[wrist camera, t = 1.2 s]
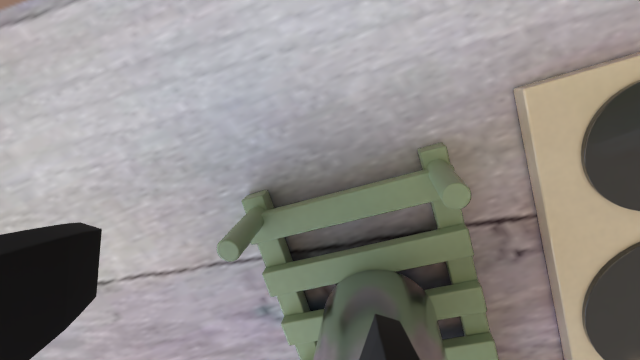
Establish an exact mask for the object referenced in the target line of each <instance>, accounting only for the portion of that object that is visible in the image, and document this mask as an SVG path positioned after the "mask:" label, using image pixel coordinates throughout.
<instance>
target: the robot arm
mask: <svg viewBox="0 0 640 360" xmlns="http://www.w3.org/2000/svg"><path fill="white" fill-rule="evenodd" d="M101 231H102V229H99V228H96V227H93V226H90V225H86V224H83V223H69V224H61V225H54V226H48V227H42V228H36V229H30V230H25V231H19V232H14V233H8V234H2V235H0V360H29V359H31V358H32V357H33V356H34V355H36V354H37V353H38V352H39V351H40V350H41V349H43V348H44V347H45V346H46V345H47V344H49V343H50V342H51V341H52V340H53V339H55V338H56V337H57V336H58V335H59V334H60V333H62V332H63V331H64V330H65V329H66V328H67V327H68V326H69V325H70V324H71V323H72V322H73V321H74V320H75V319H76V318H77V317H78V316H79V315H80V314H81V313H82V311H83V310H84V309H85V308H86V307H87V306H88V305H89V304H90V303H91V302H92V301H93V299H94V298H95V297H96V292H97V280H98V268H99V255H100V243H101ZM359 360H420V358H419V357H418V355H417V353H416V351H415V349H414V347H413V345H412V343H411V341H410V339H409V337H408V336H407V334H406V332H405V330H404V328H403V326H402V324H401V322H400V321H398V320H395V319H392V318H388V317H385V316H382V315H379V314H375V315H374V318H373V321H372V324H371V327H370V330H369V333H368V335H367V338H366V341H365V344H364V347H363V350H362V353H361V356H360V358H359Z"/></svg>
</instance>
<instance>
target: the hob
mask: <svg viewBox="0 0 640 360" xmlns="http://www.w3.org/2000/svg"><path fill="white" fill-rule="evenodd" d="M514 96H515V101H516V106H517V112H518V117H519V122H520V127H521V133H522V138H523V143H524V149H525V154H526V159H527V164H528V170H529V175H530V180H531V185H532V191H533V196H534V201H535V207H536V212H537V217H538V222H539V228H540V233H541V238H542V244H543V249H544V254H545V259H546V265H547V270H548V275H549V280H550V286H551V291H552V296H553V302H554V307H555V312H556V317H557V323H558V328H559V333H560V339H561V344H562V349H563V354H564V360H640V52H638V53H634V54H631V55H627V56H624V57H621V58H617V59H614V60H610V61H607V62H603V63H600V64H596V65H593V66H589V67H586V68H583V69H579V70H576V71H572V72H569V73H565V74H562V75H558V76H555V77H552V78H548V79H545V80H541V81H538V82H534V83H531V84H527V85H524V86H520V87H517V88H515V89H514Z"/></svg>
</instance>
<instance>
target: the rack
mask: <svg viewBox="0 0 640 360" xmlns="http://www.w3.org/2000/svg"><path fill="white" fill-rule="evenodd" d="M418 154H419V158H420V162H421V166H422V170H421V171H417V172H413V173H409V174H405V175H402V176H398V177H394V178H390V179H386V180H382V181H378V182H374V183H371V184H367V185H363V186H359V187H355V188H351V189H347V190H343V191H340V192H336V193H332V194H328V195H324V196H320V197H316V198H312V199H309V200H305V201H301V202H297V203H293V204H289V205H285V206H282V207H278V208H274V206H273V204H272V201H271V198H270V195H269V192H268V190H264V191H261V192H257V193H253V194H250V195H247V196H246V197H245V198H244V199H243V200H242V204H243V207H244V209H245V212H246V215H245V216H244V217H243V218H242V219H241V220H240V221H239V222H238V223H237V224H236V225H235V226H234V227H233V228H232V229H231V230H230V232H229V233H228V234H227V235H226V236H225V237H224V238H223V239H222V240H221V241H220V242H219V243H218V245H217V253H218V255H219V256H220V258H221V259H223V260H225V261H228V262H231V261H235V260H237V259H238V258H239V256H240V255H241V254H242V253H243V251H244V250H245V249H246V247H247V246H248V245H249V243H251V245H253V244H258V247H259V250H260V252H261V255H262V258H263V260H264V263H265V266H266V268H265V270H264V272H263V273H262V275H263V278H264V280H265V283H266V286H267V288H268V291H269V294H270V296H271V297H274V296H277V298H278V301H279V304H280V306H281V309H282V312H283V314H284V318H283V320H282V323H281V325H282V328H283V331H284V333H285V336H286V339H287V341H288V344H289V345H295V347H296V349H297V352H298V355H299V357H300V360H313V359H314V354H315V350H316V345H317V341H318V336H319V331H320V327H321V322H322V318H323V313H324V309H321V310H316V311H310V309H309V306H308V303H307V300H306V297H305V294H304V292H303V290H308V289H313V288H318V287H323V286H328V285H333V284H338V283H340V282H341V281H342V280H344V279H345V278H347V277H349V276H350V275H353V274H355V273H358V272H361V271H366V270H388V271H393V272H397V271H401V270H406V269H411V268H416V267H421V266H426V265H431V264H436V263H441V262H446V265H447V269H448V273H449V276H450V280H451V284H452V285H448V286H442V287H437V288H432V289H427V290H424V291H425V292H426V293H427V295H428V296H429V298H430V300H431V301H432V303H433V306H434V309H435V313H436V317H437V320H442V319H448V318H454V317H459V316H460V320H461V324H462V328H463V332H464V336H463V337H456V338H450V339H444V340H443V343H444V347H445V351H446V355H447V359H448V360H499V359H498V354H497V350H496V346H495V342H494V339H493V337H492V335H491V333H490V329H489V325H488V321H487V317H486V312H487V308H486V303H485V299H484V295H483V291H482V287H481V285H480V283H479V281H478V279H477V274H476V270H475V266H474V262H473V257H472V256H474V252H473V248H472V244H471V239H470V235H469V231H468V228H467V227H466V225H465V224H464V219H463V215H462V211H461V209H462V208H464V207H465V206H466V205H468V203H469V202H470V200H471V191H470V189H469V188H468V187H467V185H466V184H465V183H464V182H463V181H462V180H461V179H460V177H459V176H458V175H457V174H456V173H455V171H454V167H453V166H452V165H451V164H450V160H449V156H448V152H447V147H446V146H445V145H444V144H443V143H438V144H434V145H430V146H427V147H423V148H419V149H418ZM429 202H431V206H432V210H433V213H434V217H435V221H436V225H437V230H433V231H428V232H424V233H419V234H415V235H410V236H406V237H401V238H397V239H392V240H388V241H383V242H379V243H374V244H370V245H366V246H361V247H357V248H352V249H348V250H343V251H339V252H334V253H330V254H325V255H321V256H316V257H312V258H307V259H303V260H298V261H294V262H293V260H292V257H291V255H290V252H289V249H288V246H287V243H286V240H285V238H284V237H287V236H291V235H295V234H300V233H304V232H308V231H312V230H316V229H320V228H325V227H329V226H333V225H337V224H341V223H346V222H350V221H354V220H358V219H362V218H366V217H371V216H375V215H379V214H383V213H387V212H392V211H396V210H400V209H404V208H408V207H413V206H417V205H421V204H425V203H429Z"/></svg>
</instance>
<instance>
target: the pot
mask: <svg viewBox="0 0 640 360" xmlns="http://www.w3.org/2000/svg"><path fill="white" fill-rule="evenodd" d="M375 314H379V315H382V316H385V317H388V318H392V319H395V320H398V321H400V322H401V324H402V326H403V328H404V330H405V332H406V334H407V336H408V337H409V339H410V341H411V343H412V345H413V347H414V349H415V351H416V353H417V355H418V357H419V358H420V360H448V359H447V355H446V351H445V347H444V343H443V339H442V336H441V332H440V328H439V324H438V320H437V317H436V313H435V309H434V306H433V303H432V301H431V300H430V298H429V296H428V295H427V293H426V292H425V291H424V290H423V289H422V288H421V287H420V286H419V285H418V284H417V283H416V282H414V281H413V280H411V279H410V278H408V277H406V276H404V275H402V274H399V273H396V272H393V271H388V270H366V271H361V272H358V273H355V274H353V275H350V276H349V277H347V278H345V279H344V280H342V281H341V282H340V283H338V284H337V285H336V287H335V288H334V289H333V290H332V292H331V293H330V295H329V297H328V299H327V301H326V304H325V309H324V313H323V318H322V322H321V327H320V331H319V336H318V341H317V345H316V350H315V354H314V359H313V360H359V358H360V356H361V353H362V350H363V347H364V344H365V341H366V338H367V335H368V333H369V330H370V327H371V324H372V321H373V318H374V315H375Z"/></svg>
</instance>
